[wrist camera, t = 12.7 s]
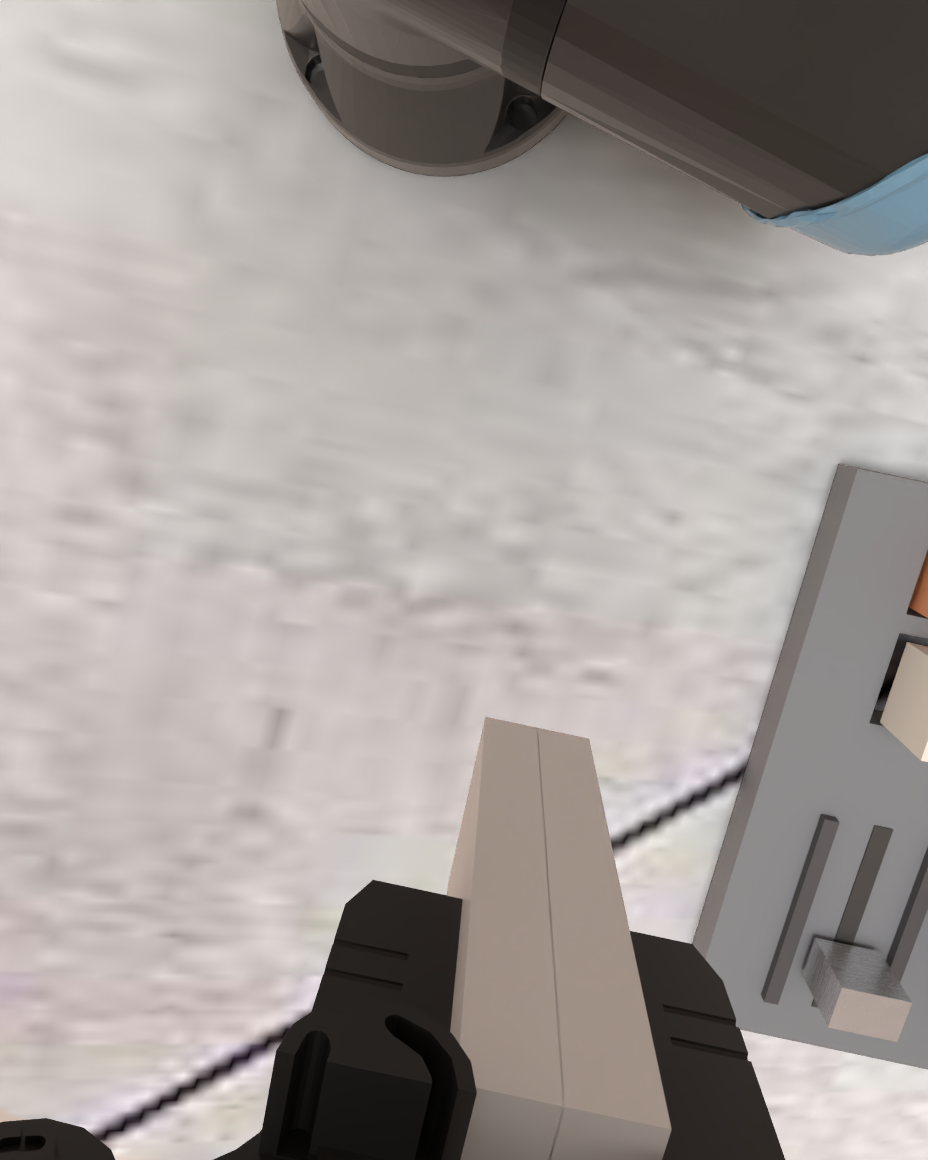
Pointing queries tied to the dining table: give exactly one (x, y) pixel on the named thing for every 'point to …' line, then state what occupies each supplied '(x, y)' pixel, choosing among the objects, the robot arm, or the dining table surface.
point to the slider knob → (856, 990)
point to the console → (832, 787)
